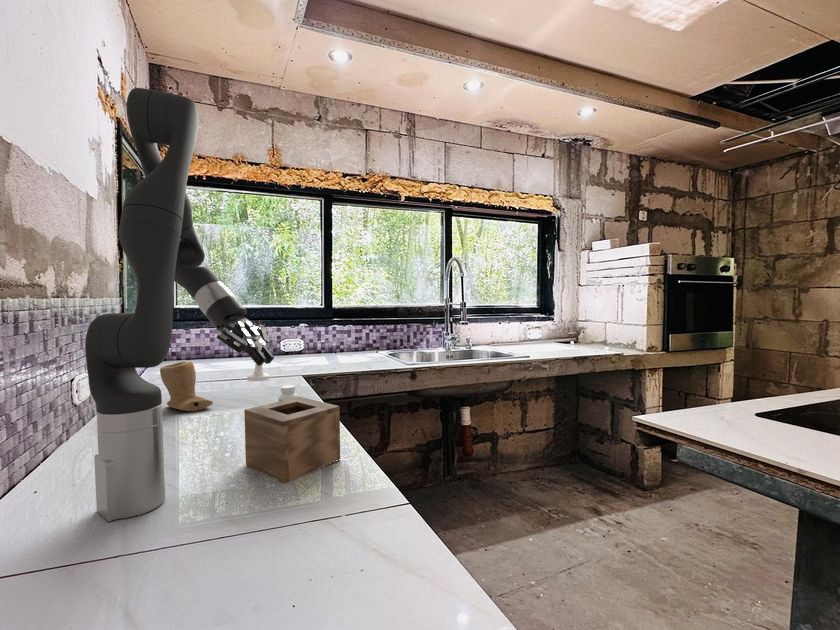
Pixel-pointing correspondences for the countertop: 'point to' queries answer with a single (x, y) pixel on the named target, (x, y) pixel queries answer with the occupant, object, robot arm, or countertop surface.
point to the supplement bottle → (287, 393)
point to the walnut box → (292, 437)
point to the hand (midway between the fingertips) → (266, 361)
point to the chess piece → (258, 371)
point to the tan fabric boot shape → (182, 387)
